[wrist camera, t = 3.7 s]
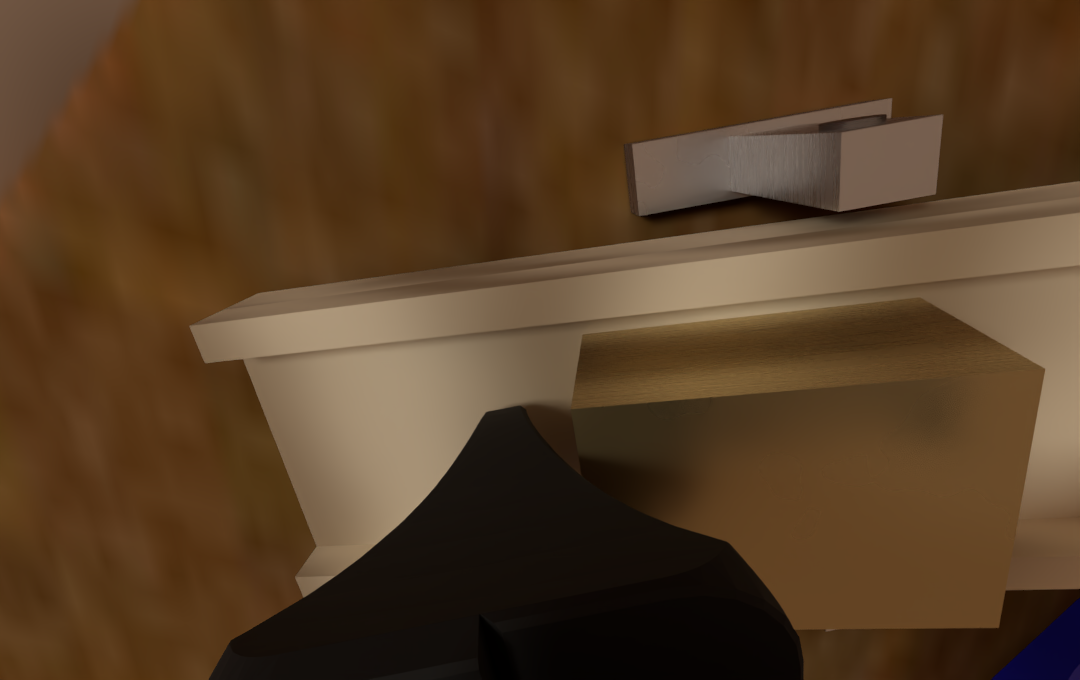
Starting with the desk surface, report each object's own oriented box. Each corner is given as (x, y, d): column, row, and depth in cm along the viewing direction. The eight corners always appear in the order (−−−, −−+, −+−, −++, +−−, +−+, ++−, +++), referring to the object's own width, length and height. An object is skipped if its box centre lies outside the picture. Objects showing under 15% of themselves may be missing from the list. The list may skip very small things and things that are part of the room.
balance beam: (347, 537, 15) (292, 623, 12) (258, 293, 13) (165, 337, 10) (1513, 489, 10) (1805, 609, 8) (1741, 90, 8) (2279, 75, 5)
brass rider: (609, 515, 12) (607, 630, 9) (582, 334, 11) (571, 408, 8) (902, 501, 11) (998, 627, 8) (920, 297, 9) (1045, 368, 7)
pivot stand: (662, 512, 17) (728, 657, 12) (624, 144, 13) (699, 144, 8) (851, 475, 17) (991, 605, 12) (868, 101, 13) (1083, 75, 8)
